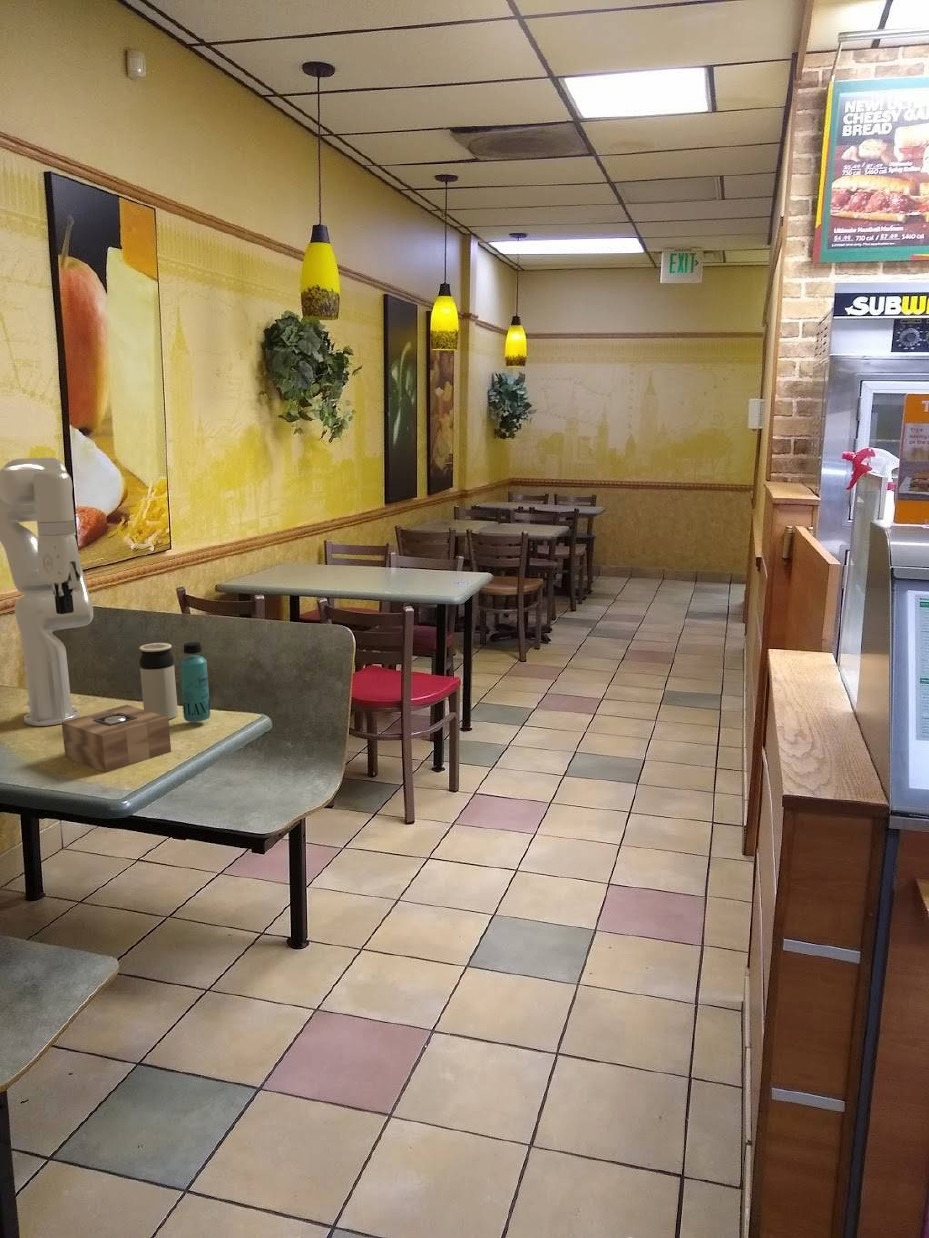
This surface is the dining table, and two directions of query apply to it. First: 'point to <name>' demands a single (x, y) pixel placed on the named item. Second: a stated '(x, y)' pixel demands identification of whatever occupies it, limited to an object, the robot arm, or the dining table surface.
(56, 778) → the dining table surface
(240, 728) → the dining table surface
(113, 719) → the steel dowel
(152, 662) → the travel mug
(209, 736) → the dining table surface
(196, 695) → the beverage bottle
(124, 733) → the block
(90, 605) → the robot arm
